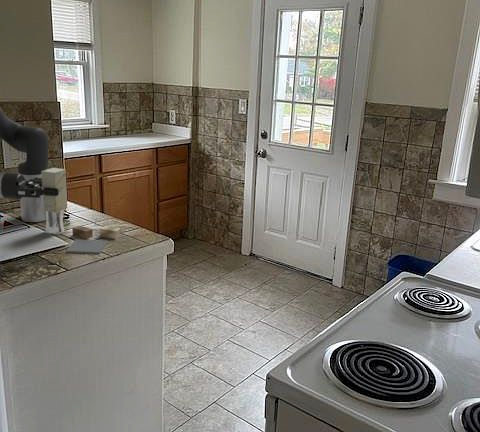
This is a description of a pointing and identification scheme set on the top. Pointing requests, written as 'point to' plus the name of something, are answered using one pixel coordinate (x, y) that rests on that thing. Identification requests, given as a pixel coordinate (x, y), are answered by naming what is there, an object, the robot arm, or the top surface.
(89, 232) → the walnut brick
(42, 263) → the top surface
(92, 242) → the slate coaster
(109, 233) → the beech brick
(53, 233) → the beer glass
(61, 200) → the skincare box
